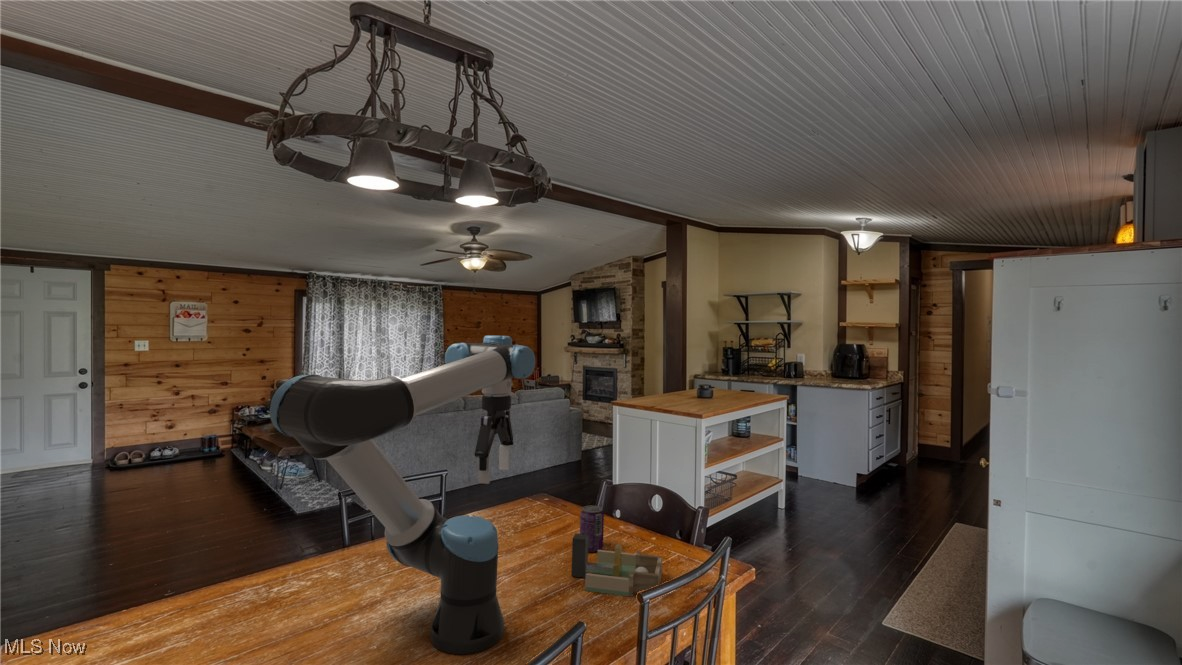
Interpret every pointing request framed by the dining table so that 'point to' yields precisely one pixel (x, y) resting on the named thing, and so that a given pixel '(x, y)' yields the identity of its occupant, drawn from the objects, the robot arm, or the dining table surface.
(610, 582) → the pitch
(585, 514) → the beverage can
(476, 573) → the robot arm
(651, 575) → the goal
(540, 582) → the dining table surface
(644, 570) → the ball
